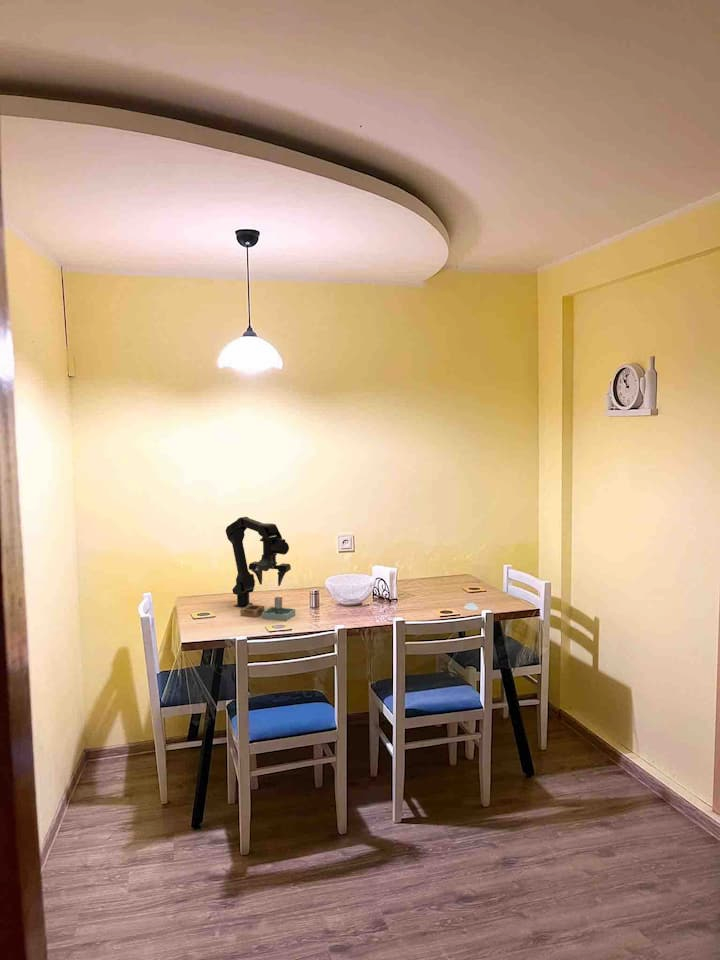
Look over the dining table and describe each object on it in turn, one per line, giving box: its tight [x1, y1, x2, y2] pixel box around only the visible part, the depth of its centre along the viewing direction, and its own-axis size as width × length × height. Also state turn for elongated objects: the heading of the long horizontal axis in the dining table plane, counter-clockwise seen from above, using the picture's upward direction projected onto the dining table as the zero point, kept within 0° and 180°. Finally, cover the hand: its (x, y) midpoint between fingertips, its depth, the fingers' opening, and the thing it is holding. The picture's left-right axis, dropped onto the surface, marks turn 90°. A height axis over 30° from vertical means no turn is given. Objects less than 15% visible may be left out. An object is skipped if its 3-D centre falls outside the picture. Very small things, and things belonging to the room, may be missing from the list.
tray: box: [261, 606, 296, 622], centre depth 297 cm, size 10×12×3 cm
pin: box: [274, 596, 283, 614], centre depth 297 cm, size 3×3×8 cm
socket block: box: [240, 604, 266, 618], centre depth 301 cm, size 8×8×3 cm
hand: (269, 585), depth 302 cm, fingers open, 9 cm apart
